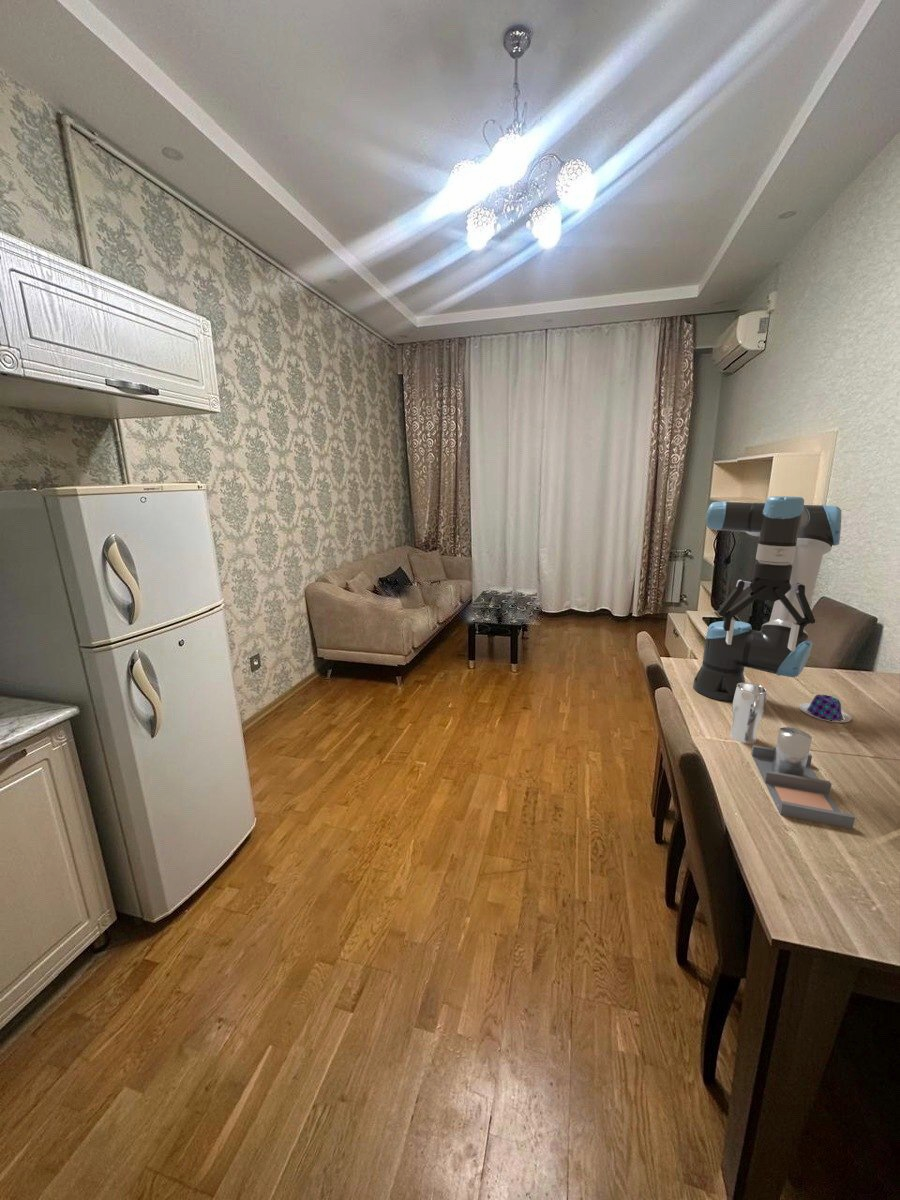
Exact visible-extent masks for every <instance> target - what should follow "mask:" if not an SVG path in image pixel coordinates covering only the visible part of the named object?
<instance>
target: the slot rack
mask: <svg viewBox="0 0 900 1200" xmlns="http://www.w3.org/2000/svg"><path fill="white" fill-rule="evenodd" d="M751 746H752V748H751V753H750V755H751V756H752V759H753V761H754V762H755V765H756V767H757V770H758V771H759V773H760V776H761V778H762V779H763V782H764V784H765V786H766V788H767V790H768V793H769V794H770V796H771V798H772V800H773V803H774V804H775V806H776V809H777V811H778V813H779V815H781V816H784V817H790V818H795V819H800V820H805V821H810V822H816V823H820V824H826V825H830V826H836V827H840V828H846V829H851V830H853V827H854V824H855V820H856V817H855V815H854V814H852V813H848V812H847V813H846V812H842V811H841V809H840V808H839V806H838V805H837V803H836V802H835V801H834V799H833V798H832V796H831V795H830V792H831V789H832V783H831V781H829V780H825V779H824V780H823V779H820V778H819V777H818V775H817V774H816V772H815V771H814V769H813V768H812V766H811V764H812V760H813V756H812V754H811V753H809V754H808V759H807V764H806V768H805V773H804V777H802V776H796V775H791V774H785V773H779V772H773V770H772V765H773V760H774V755H775V750H776V747H775V748H774V747H769V746H762V745H756V744H752V745H751Z"/></svg>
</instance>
